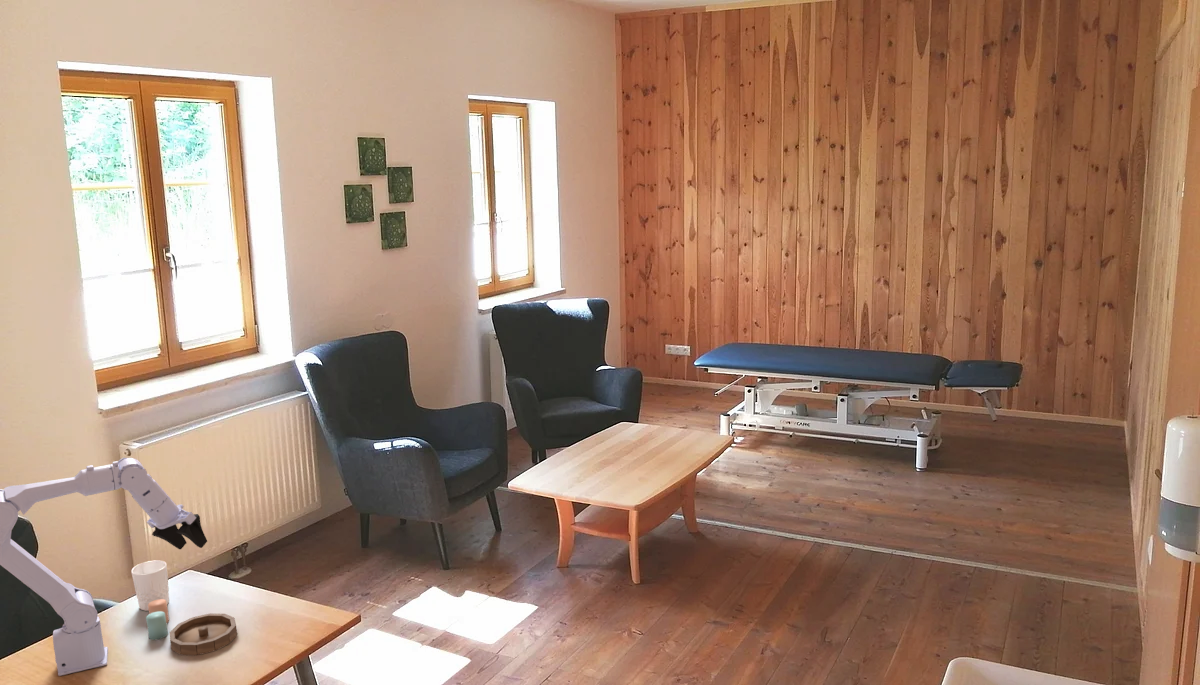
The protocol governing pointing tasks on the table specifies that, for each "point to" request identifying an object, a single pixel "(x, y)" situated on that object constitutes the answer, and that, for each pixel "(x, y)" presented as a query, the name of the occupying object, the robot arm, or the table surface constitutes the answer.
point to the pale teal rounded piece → (156, 625)
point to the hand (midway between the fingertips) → (193, 545)
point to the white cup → (150, 582)
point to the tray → (203, 634)
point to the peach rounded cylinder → (159, 607)
